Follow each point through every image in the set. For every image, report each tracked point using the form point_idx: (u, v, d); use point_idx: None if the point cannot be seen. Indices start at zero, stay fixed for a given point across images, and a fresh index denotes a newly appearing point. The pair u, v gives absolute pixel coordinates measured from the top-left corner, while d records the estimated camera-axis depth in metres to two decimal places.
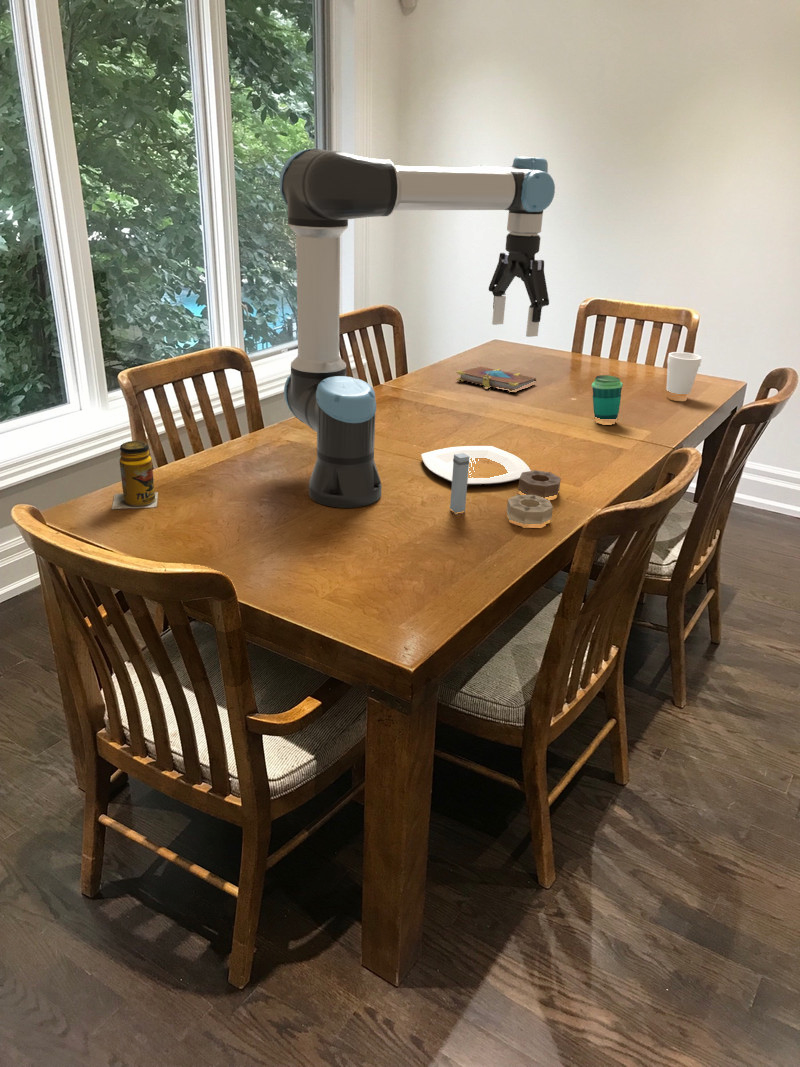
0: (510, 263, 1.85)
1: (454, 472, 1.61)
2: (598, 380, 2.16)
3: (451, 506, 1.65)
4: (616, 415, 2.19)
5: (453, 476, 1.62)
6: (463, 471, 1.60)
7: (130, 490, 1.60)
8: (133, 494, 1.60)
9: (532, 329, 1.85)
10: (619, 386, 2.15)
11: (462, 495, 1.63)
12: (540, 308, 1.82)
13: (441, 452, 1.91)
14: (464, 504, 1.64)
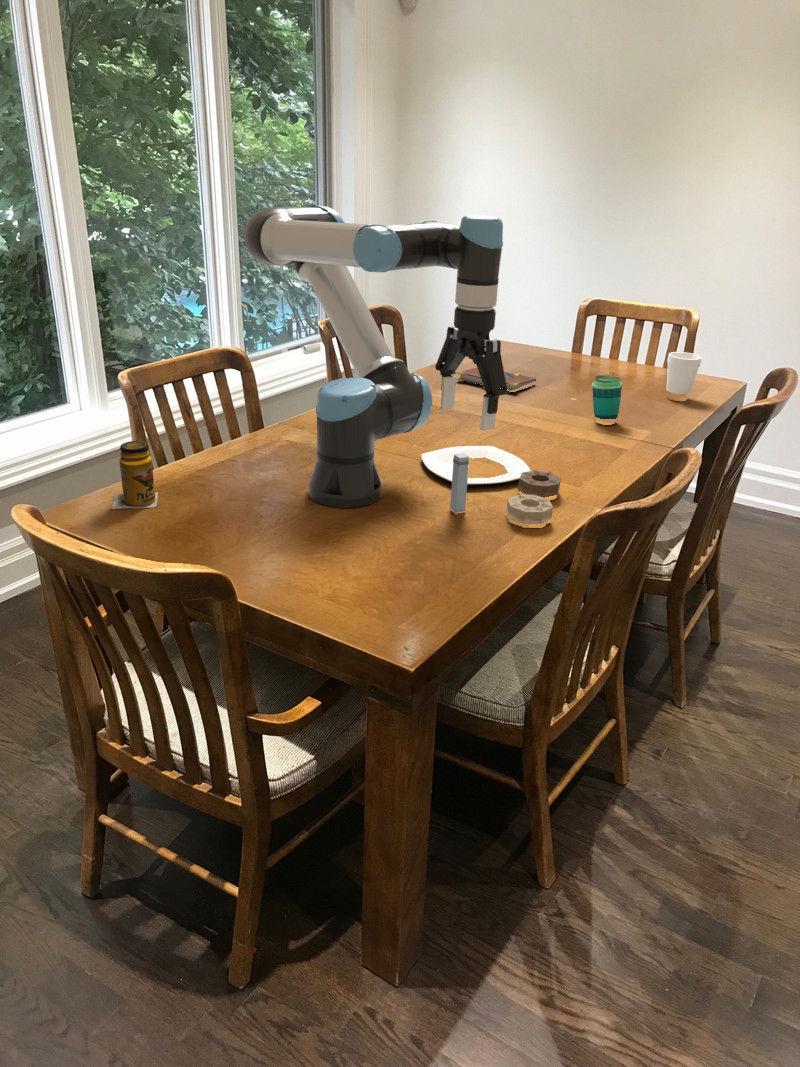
0: (460, 341, 1.52)
1: (454, 472, 1.61)
2: (598, 380, 2.16)
3: (451, 506, 1.65)
4: (616, 415, 2.19)
5: (453, 476, 1.62)
6: (463, 471, 1.60)
7: (130, 490, 1.60)
8: (133, 494, 1.60)
9: (488, 421, 1.52)
10: (619, 386, 2.15)
11: (462, 495, 1.63)
12: (497, 397, 1.50)
13: (441, 452, 1.91)
14: (464, 504, 1.64)
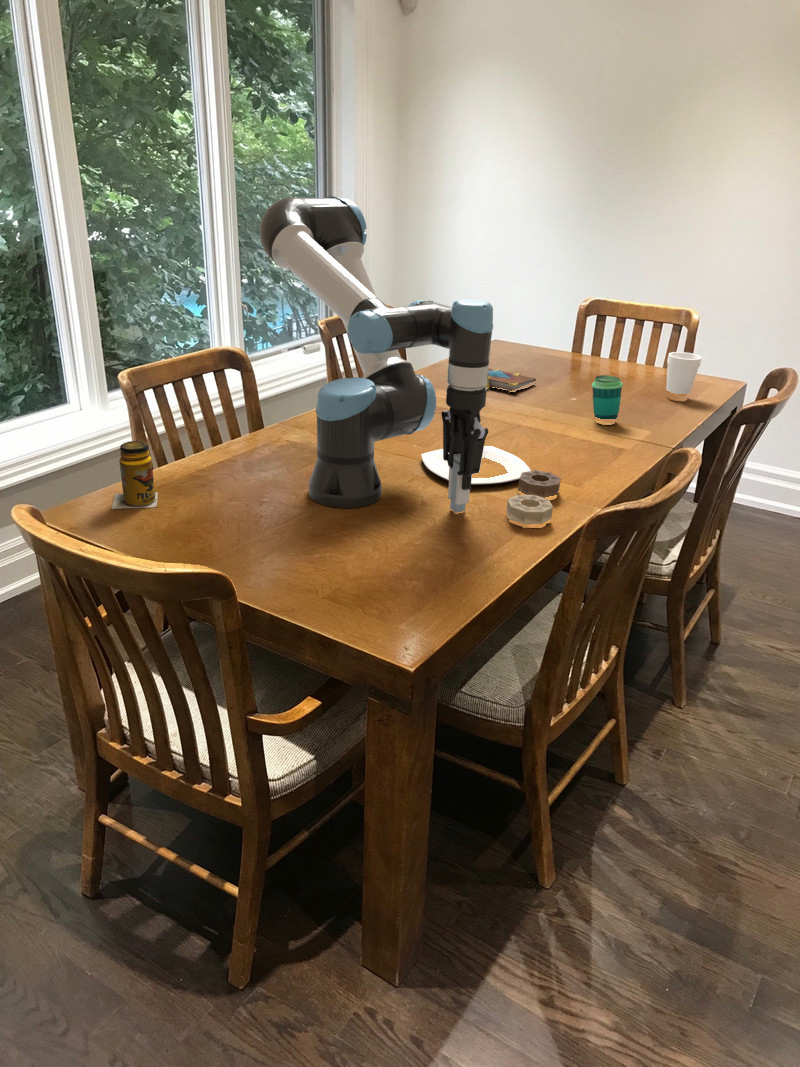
0: (452, 417, 1.57)
1: (454, 472, 1.61)
2: (598, 380, 2.16)
3: (451, 506, 1.65)
4: (616, 415, 2.19)
5: (453, 476, 1.62)
6: None
7: (130, 490, 1.60)
8: (133, 494, 1.60)
9: (462, 496, 1.62)
10: (619, 386, 2.15)
11: None
12: (470, 475, 1.59)
13: (441, 452, 1.91)
14: (464, 504, 1.64)
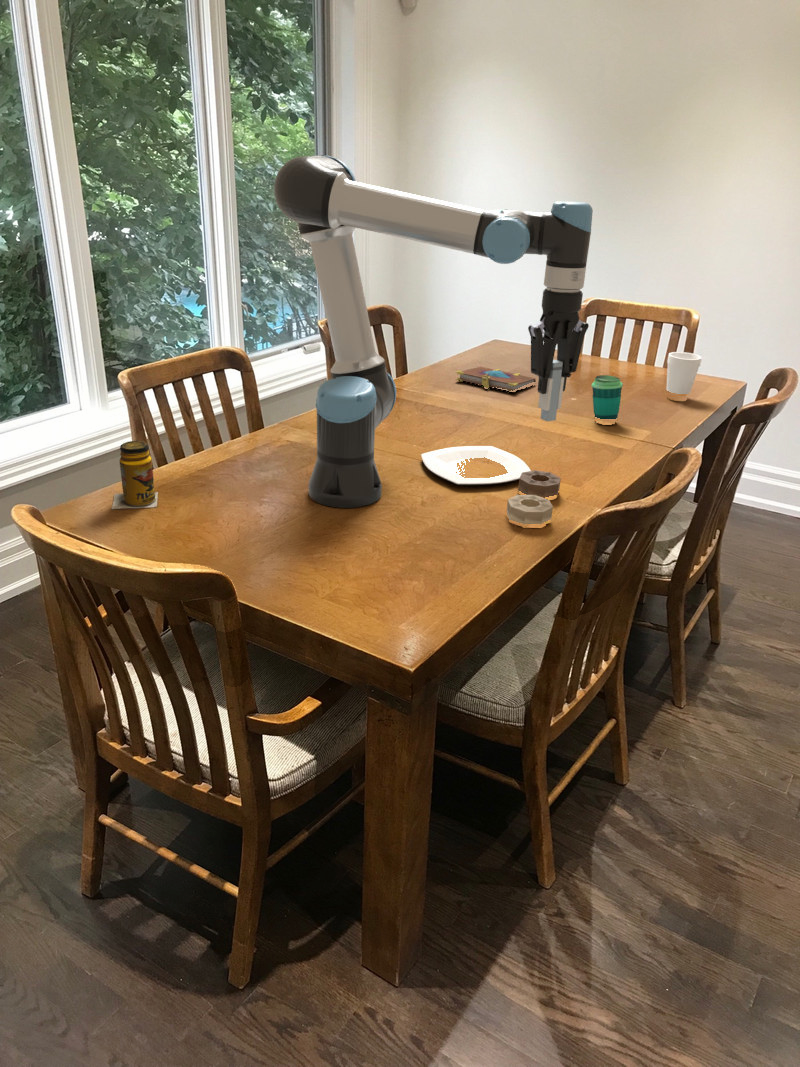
0: None
1: None
2: (598, 380, 2.16)
3: None
4: (616, 415, 2.19)
5: None
6: None
7: (130, 490, 1.60)
8: (133, 494, 1.60)
9: (542, 400, 1.66)
10: (619, 386, 2.15)
11: None
12: (541, 378, 1.63)
13: (441, 452, 1.91)
14: (547, 412, 1.66)
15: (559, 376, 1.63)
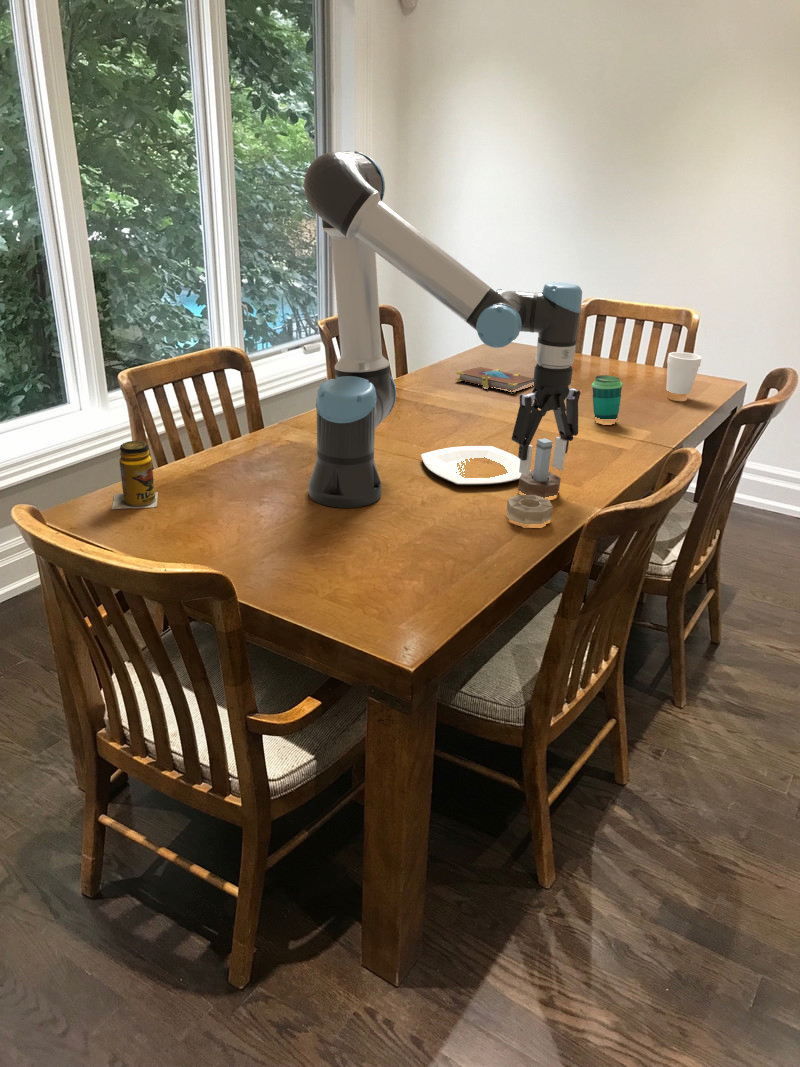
0: None
1: None
2: (598, 380, 2.16)
3: None
4: (616, 415, 2.19)
5: None
6: (538, 454, 1.71)
7: (130, 490, 1.60)
8: (133, 494, 1.60)
9: (522, 466, 1.70)
10: (619, 386, 2.15)
11: (536, 477, 1.73)
12: (522, 446, 1.67)
13: (441, 452, 1.91)
14: None
15: (549, 454, 1.71)
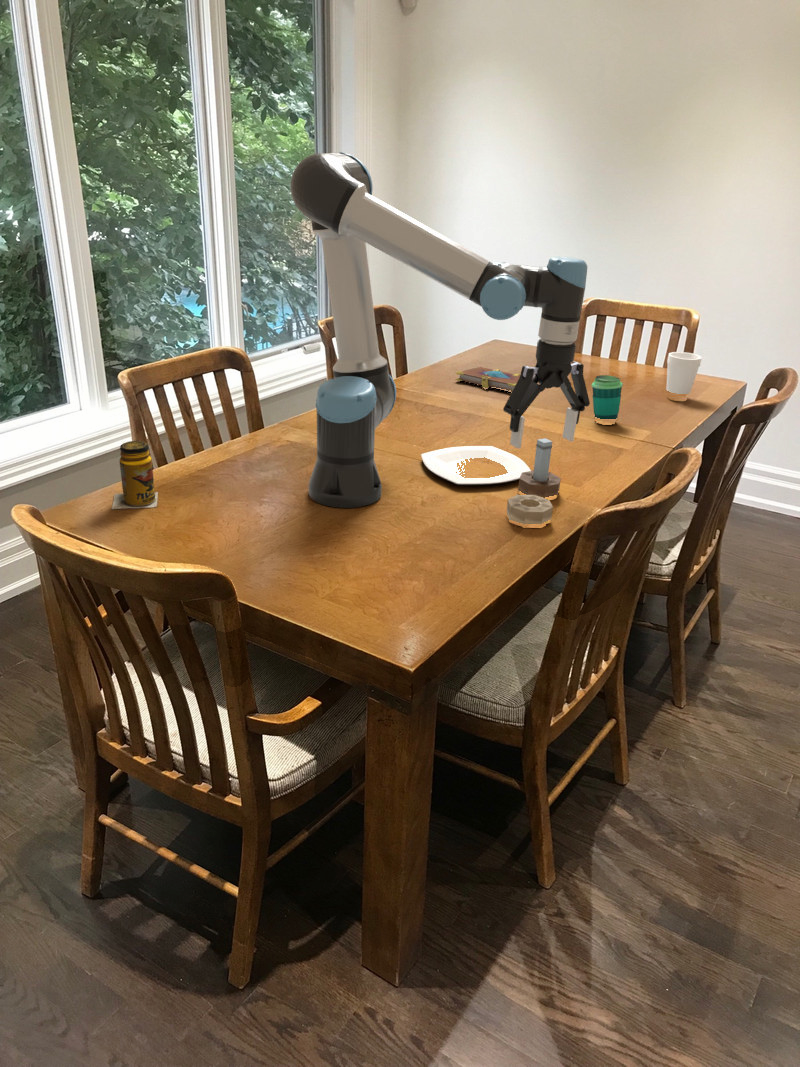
0: None
1: None
2: (598, 380, 2.16)
3: None
4: (616, 415, 2.19)
5: None
6: (538, 454, 1.71)
7: (130, 490, 1.60)
8: (133, 494, 1.60)
9: (514, 438, 1.67)
10: (619, 386, 2.15)
11: (536, 477, 1.73)
12: (513, 417, 1.64)
13: (441, 452, 1.91)
14: None
15: (549, 454, 1.71)
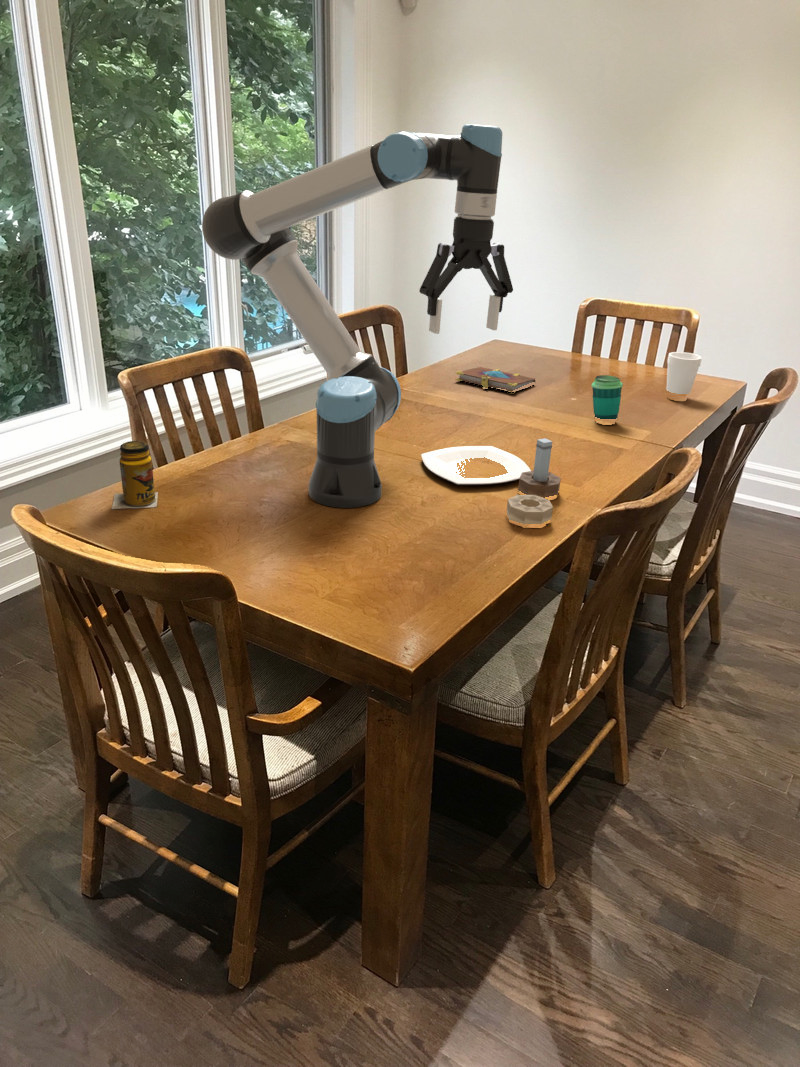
0: None
1: None
2: (598, 380, 2.16)
3: None
4: (616, 415, 2.19)
5: None
6: (538, 454, 1.71)
7: (130, 490, 1.60)
8: (133, 494, 1.60)
9: (432, 323, 1.59)
10: (619, 386, 2.15)
11: (536, 477, 1.73)
12: (430, 299, 1.56)
13: (441, 452, 1.91)
14: None
15: (549, 454, 1.71)
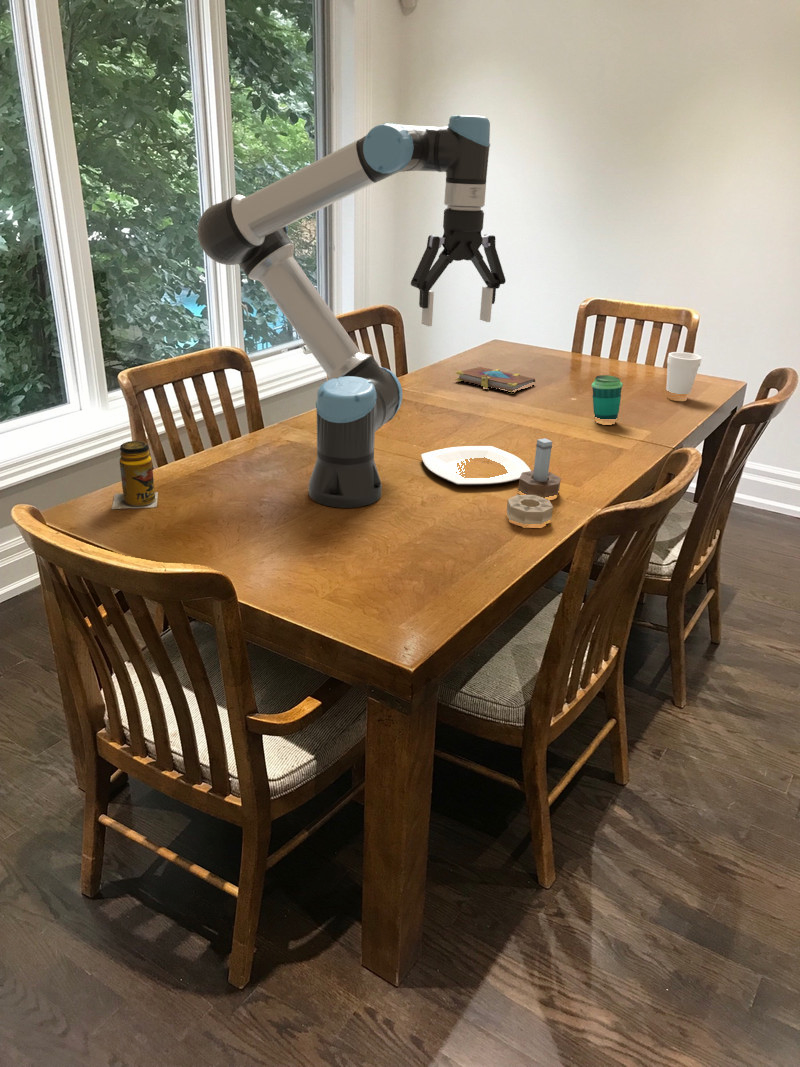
0: None
1: None
2: (598, 380, 2.16)
3: None
4: (616, 415, 2.19)
5: None
6: (538, 454, 1.71)
7: (130, 490, 1.60)
8: (133, 494, 1.60)
9: (424, 316, 1.59)
10: (619, 386, 2.15)
11: (536, 477, 1.73)
12: (422, 291, 1.56)
13: (441, 452, 1.91)
14: None
15: (549, 454, 1.71)
